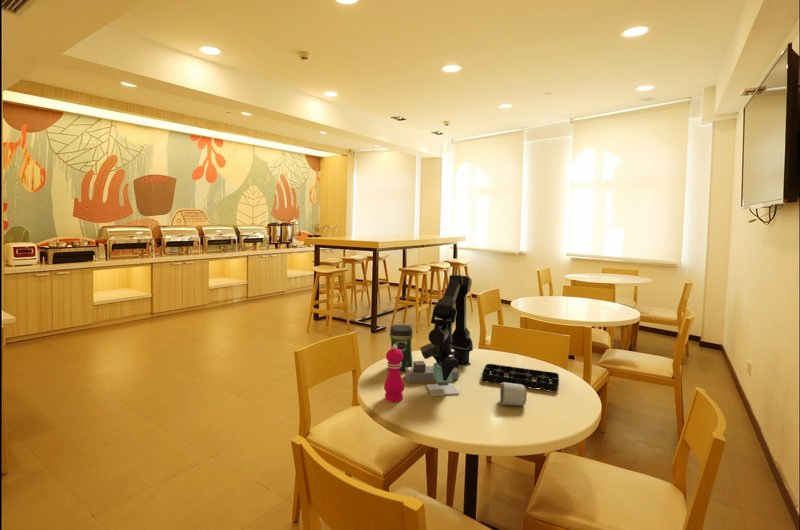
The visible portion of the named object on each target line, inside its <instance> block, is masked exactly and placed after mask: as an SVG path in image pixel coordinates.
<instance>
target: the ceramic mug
mask: <svg viewBox="0 0 800 530" xmlns="http://www.w3.org/2000/svg"><path fill="white" fill-rule="evenodd" d="M526 387H527V386H524V385H521V384H513V383H506V382H502V384H500V393H499V395H500V396H499V400H500V404H501V406H517V407H520V406H524V405H526V403H527V388H526Z"/></svg>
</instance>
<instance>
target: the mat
mask: <svg viewBox="0 0 800 530" xmlns="http://www.w3.org/2000/svg"><path fill="white" fill-rule="evenodd" d="M425 387H426V388H427V389H428V392H429V394H431V395H430V396H432V397H444V396H445V395H446V396H458V395H460V392H459V391H458V389H457V388H456V387H455V386H454V384H453V383H452V382H448V385H444V386H439V385H438V384H437V383H434V384H425ZM446 396H445V397H446Z"/></svg>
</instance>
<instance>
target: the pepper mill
mask: <svg viewBox="0 0 800 530" xmlns="http://www.w3.org/2000/svg"><path fill="white" fill-rule="evenodd" d="M392 348H393V349H391V348H390V349H388V350H387V352H386V354H385V359H386V360H387V361H386V362H387V365H386V366H387V368H388V373H387V376H386V378H385V381H384V384H383V389H384V391H385V394H384V395H385V396H384V399H385V401H386V402H388V403H399V402H401V401H403V399H404V393H403V392H404V390H405V383H404V380H403V378H402V376H401V375H402V374H401V371H400V367H401V366H402V365H401V364H402V363H401V361H402V359H403V353H402V351H401V350H399V349H397V345H393V346H392Z"/></svg>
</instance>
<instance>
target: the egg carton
mask: <svg viewBox="0 0 800 530" xmlns="http://www.w3.org/2000/svg"><path fill="white" fill-rule="evenodd" d="M490 371H492V373H491V374H490ZM504 373H508V374H507V375H508V376H505V374H504ZM481 376H482V381H483V380H484V381H483V382H485V381H488V382H487V383H492V382H494V383H496V381H497V384H499V383H502V382H506V383H513V384H521V385H524V386H525V385H526V386H527V388H528V387H531V388H541V387H543V388H544V389H545V390H550V391H556V392H557V391H558V387H559V385H560V384H559V383H560V374H559V373H557V372H552V371H546V370H538V369H530V368H525V367H524V368H523V367H517V366H511V365H510V366H509V365H501V364H494V363H487V364H485V366H484V368H483V370H482V374H481ZM532 377H537V378H536V381H535V380H533V378H532ZM549 379H552V380H551V381H552V383H550V382H549V381H550V380H549ZM526 386H525V387H526ZM531 388H530V389H531ZM543 388H541V389H543ZM544 389H543V390H544ZM545 390H544V391H545ZM550 391H549V392H550Z"/></svg>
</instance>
